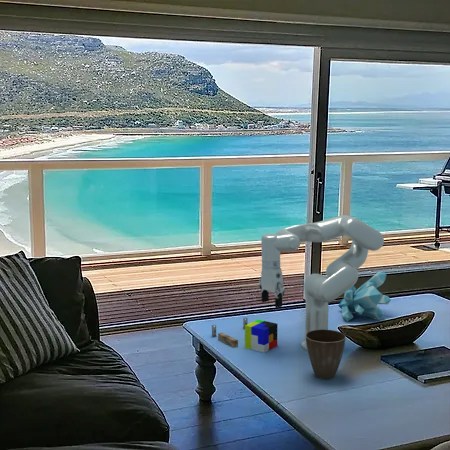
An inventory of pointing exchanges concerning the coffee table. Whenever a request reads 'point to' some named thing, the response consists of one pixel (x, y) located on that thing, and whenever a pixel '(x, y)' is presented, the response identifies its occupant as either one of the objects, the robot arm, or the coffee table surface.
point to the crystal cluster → (365, 299)
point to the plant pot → (325, 352)
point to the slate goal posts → (245, 322)
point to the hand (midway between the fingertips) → (271, 304)
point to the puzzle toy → (261, 335)
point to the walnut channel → (227, 340)
